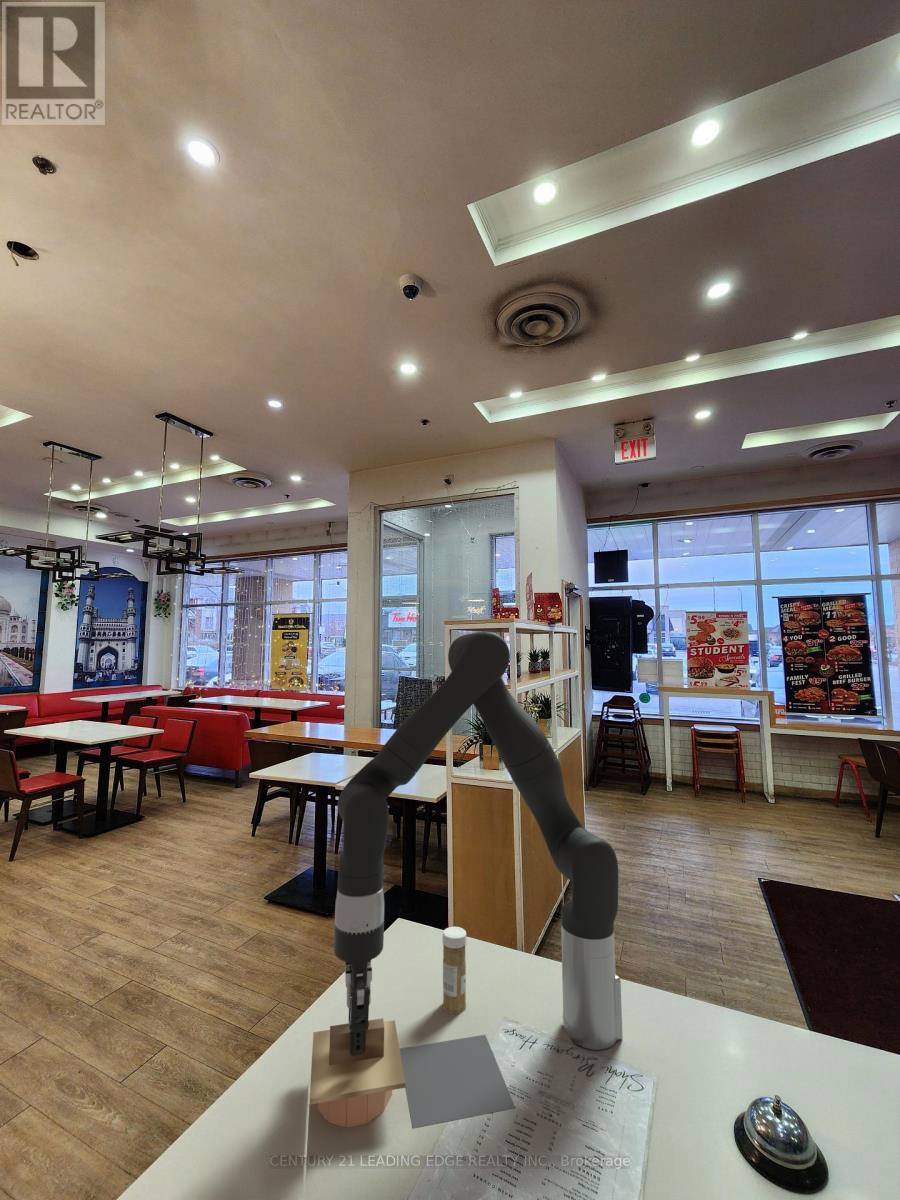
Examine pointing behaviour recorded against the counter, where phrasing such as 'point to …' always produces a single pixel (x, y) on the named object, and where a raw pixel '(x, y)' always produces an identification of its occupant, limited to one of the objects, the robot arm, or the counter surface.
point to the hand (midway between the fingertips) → (356, 1037)
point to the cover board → (355, 1063)
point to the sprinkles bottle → (454, 970)
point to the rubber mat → (453, 1081)
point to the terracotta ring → (355, 1109)
